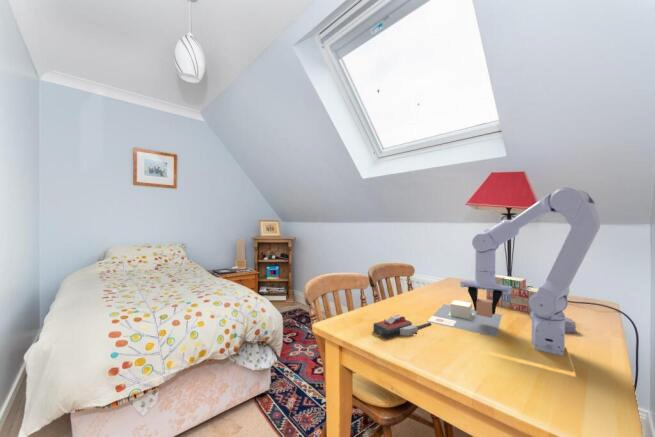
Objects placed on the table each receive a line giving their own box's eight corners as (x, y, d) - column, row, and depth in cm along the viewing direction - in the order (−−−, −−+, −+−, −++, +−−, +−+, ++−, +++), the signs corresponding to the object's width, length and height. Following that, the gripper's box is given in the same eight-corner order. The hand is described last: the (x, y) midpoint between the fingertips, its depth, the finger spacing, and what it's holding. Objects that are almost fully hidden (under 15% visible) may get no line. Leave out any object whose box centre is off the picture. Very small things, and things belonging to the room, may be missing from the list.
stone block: (545, 337, 89) (580, 333, 87) (541, 322, 89) (576, 318, 87) (526, 324, 100) (557, 321, 99) (523, 311, 101) (554, 308, 99)
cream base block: (468, 318, 97) (469, 307, 97) (450, 314, 100) (450, 303, 100) (471, 313, 102) (471, 303, 102) (453, 310, 105) (454, 300, 105)
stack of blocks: (554, 316, 103) (554, 283, 103) (548, 320, 99) (548, 285, 99) (492, 302, 120) (493, 273, 120) (485, 304, 117) (486, 275, 117)
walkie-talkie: (389, 343, 79) (433, 329, 90) (390, 328, 79) (433, 315, 90) (368, 332, 86) (411, 320, 97) (369, 318, 86) (411, 308, 97)
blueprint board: (496, 339, 82) (496, 336, 82) (426, 324, 93) (426, 321, 93) (501, 317, 101) (501, 314, 101) (443, 306, 113) (443, 304, 113)
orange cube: (491, 317, 88) (492, 303, 88) (476, 314, 91) (476, 301, 91) (493, 314, 92) (493, 300, 92) (478, 311, 94) (478, 298, 94)
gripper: (512, 271, 90) (511, 313, 90) (463, 266, 99) (462, 304, 99) (511, 274, 85) (510, 319, 85) (459, 269, 93) (458, 309, 93)
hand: (484, 311), depth 91 cm, fingers closed on orange cube, 4 cm apart
